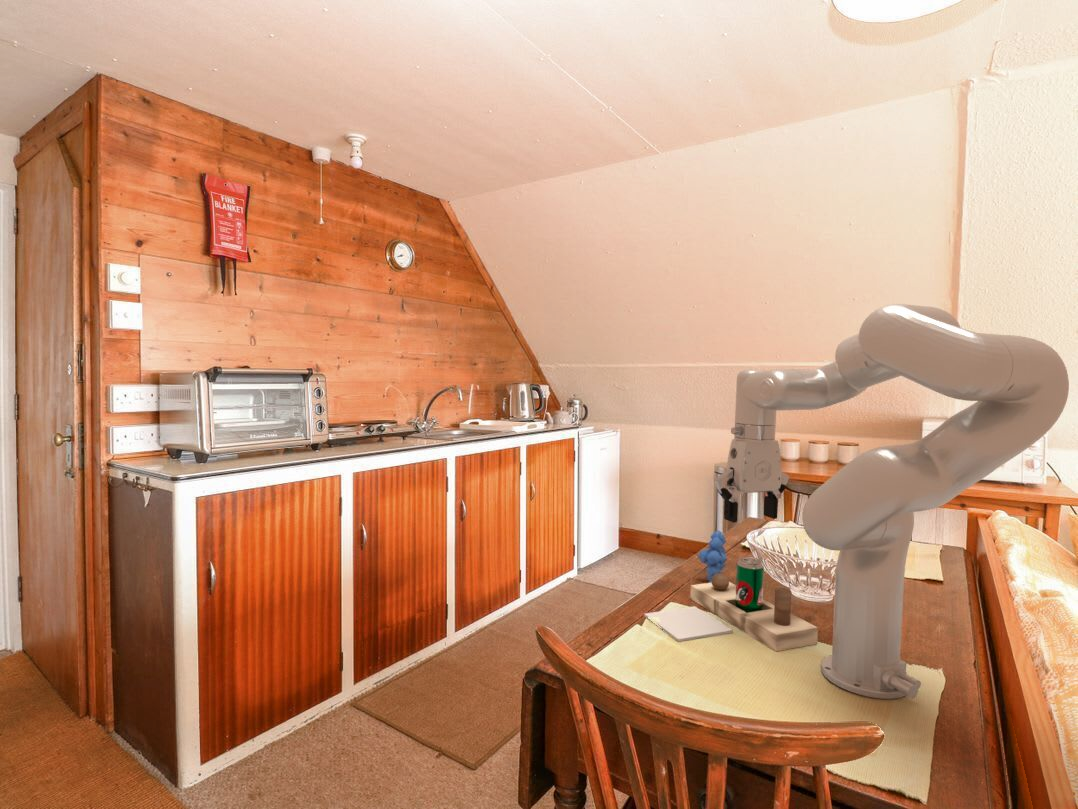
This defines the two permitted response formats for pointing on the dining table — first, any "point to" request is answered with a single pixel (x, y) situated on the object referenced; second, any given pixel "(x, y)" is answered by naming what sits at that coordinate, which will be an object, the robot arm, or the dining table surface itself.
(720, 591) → the wooden holder block
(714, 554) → the grapes
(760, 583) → the soda can
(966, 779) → the dining table surface
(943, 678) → the dining table surface
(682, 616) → the mat
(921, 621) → the dining table surface
